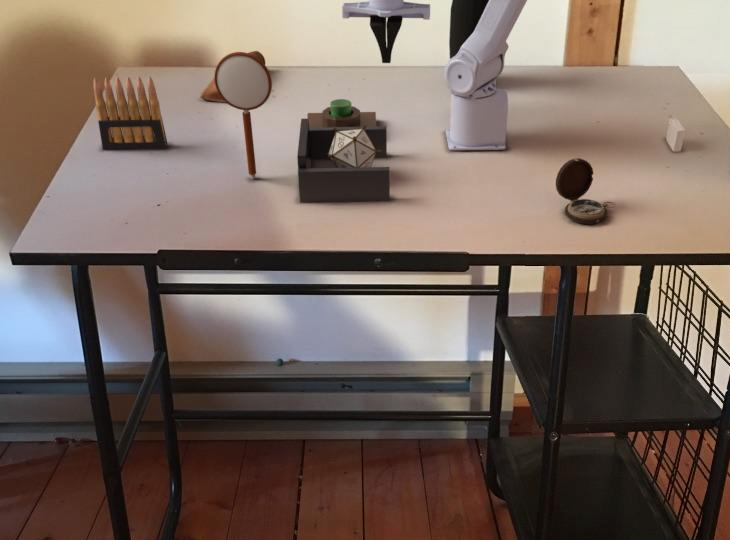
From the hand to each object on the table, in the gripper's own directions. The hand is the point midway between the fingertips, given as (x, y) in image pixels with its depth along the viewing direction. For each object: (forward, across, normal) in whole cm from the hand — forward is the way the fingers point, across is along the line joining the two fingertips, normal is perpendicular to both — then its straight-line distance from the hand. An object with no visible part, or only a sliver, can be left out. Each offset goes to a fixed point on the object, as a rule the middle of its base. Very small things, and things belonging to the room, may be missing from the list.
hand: (386, 61), depth 160 cm
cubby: (+10, -5, -24) cm, 26 cm away
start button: (+7, -7, -6) cm, 12 cm away
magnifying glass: (+11, -20, -25) cm, 34 cm away
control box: (+10, -8, -6) cm, 14 cm away
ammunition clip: (+11, -42, -14) cm, 45 cm away
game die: (+11, -4, -23) cm, 26 cm away
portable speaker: (+11, +15, +19) cm, 26 cm away
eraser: (+11, +49, -8) cm, 51 cm away
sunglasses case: (+11, -31, +15) cm, 36 cm away
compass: (+11, +32, -33) cm, 47 cm away
